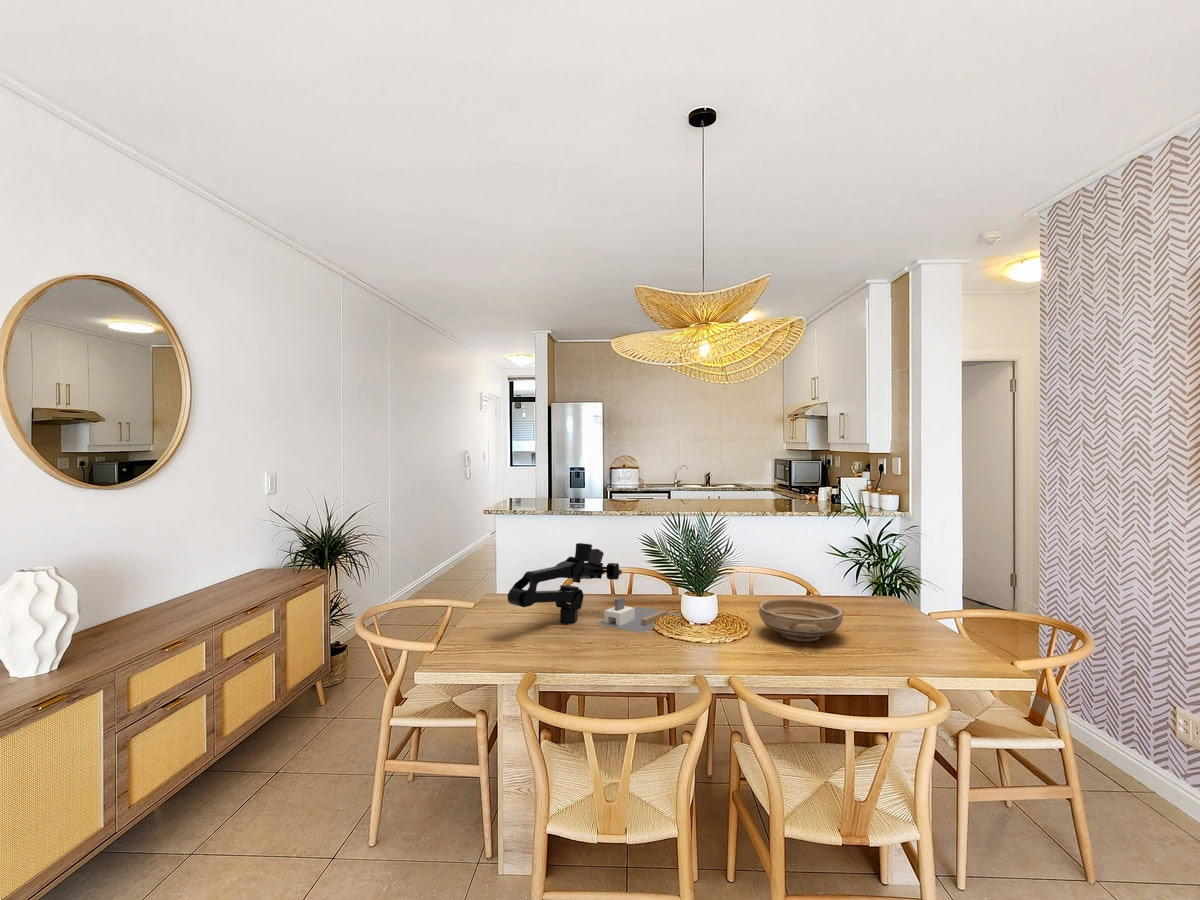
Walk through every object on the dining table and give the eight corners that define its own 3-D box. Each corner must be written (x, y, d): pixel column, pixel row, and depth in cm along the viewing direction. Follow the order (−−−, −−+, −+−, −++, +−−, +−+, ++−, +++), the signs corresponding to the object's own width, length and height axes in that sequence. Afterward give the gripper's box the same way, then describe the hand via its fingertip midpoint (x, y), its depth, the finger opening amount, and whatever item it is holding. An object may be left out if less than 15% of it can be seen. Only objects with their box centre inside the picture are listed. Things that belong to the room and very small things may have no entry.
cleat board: (641, 636, 216) (641, 627, 216) (596, 626, 228) (596, 618, 228) (682, 617, 240) (682, 609, 240) (639, 609, 252) (639, 602, 252)
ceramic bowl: (854, 655, 195) (854, 624, 195) (762, 650, 201) (762, 620, 201) (832, 623, 232) (832, 596, 232) (754, 619, 237) (754, 593, 237)
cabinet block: (619, 625, 225) (619, 602, 225) (604, 622, 230) (604, 599, 230) (634, 619, 234) (634, 597, 234) (619, 616, 238) (619, 594, 238)
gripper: (605, 549, 234) (631, 551, 245) (570, 549, 246) (596, 552, 257) (604, 579, 231) (630, 580, 243) (569, 578, 243) (595, 579, 255)
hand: (612, 571), depth 249 cm, fingers open, 9 cm apart
